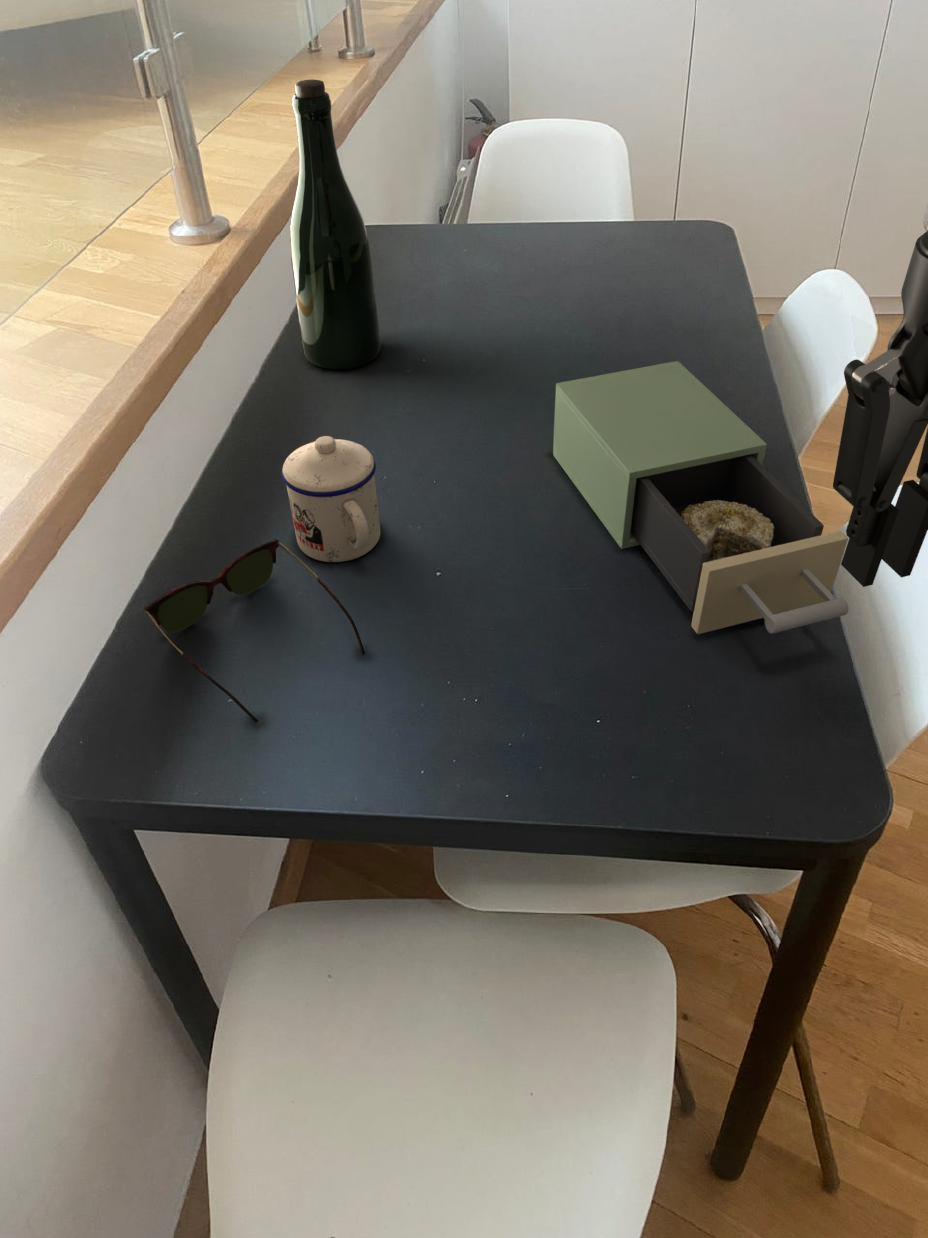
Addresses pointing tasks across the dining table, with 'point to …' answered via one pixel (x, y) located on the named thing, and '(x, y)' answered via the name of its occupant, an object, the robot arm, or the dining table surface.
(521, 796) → the dining table surface
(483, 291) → the dining table surface
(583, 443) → the green drawer box
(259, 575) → the sunglasses
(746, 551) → the cake
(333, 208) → the green wine bottle
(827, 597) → the pull-out drawer
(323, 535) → the teacup with lid
